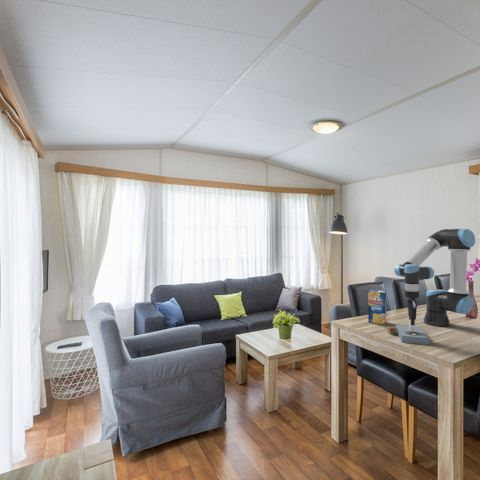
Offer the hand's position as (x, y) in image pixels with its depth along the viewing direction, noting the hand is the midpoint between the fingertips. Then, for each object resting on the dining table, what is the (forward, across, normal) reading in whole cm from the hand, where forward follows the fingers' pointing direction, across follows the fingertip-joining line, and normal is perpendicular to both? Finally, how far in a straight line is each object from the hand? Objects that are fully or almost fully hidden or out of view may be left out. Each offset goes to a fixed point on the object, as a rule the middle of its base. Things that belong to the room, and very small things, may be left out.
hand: (412, 329), depth 180 cm
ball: (+3, +4, 0) cm, 5 cm away
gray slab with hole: (+5, -1, 0) cm, 5 cm away
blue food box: (+5, -29, -16) cm, 33 cm away
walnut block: (+5, -5, -10) cm, 12 cm away
